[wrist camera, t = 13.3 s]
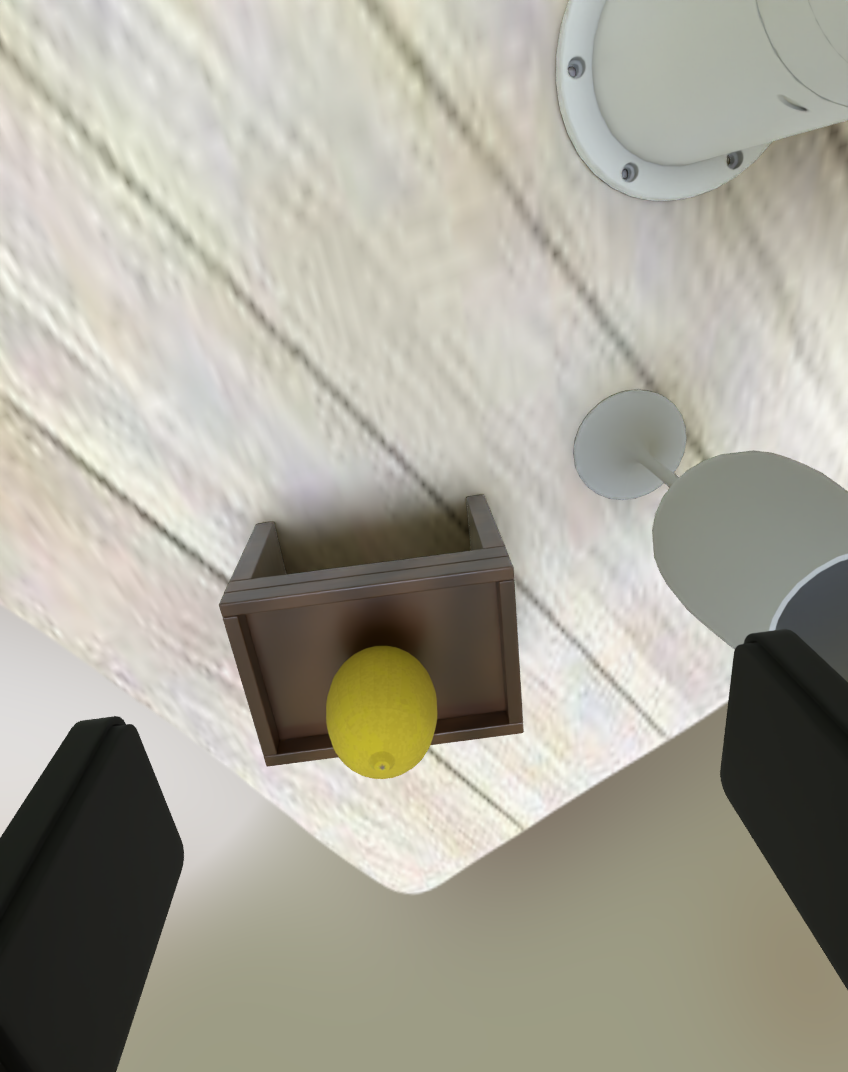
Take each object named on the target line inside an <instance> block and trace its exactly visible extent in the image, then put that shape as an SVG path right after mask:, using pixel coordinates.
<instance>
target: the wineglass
mask: <svg viewBox="0 0 848 1072" xmlns="http://www.w3.org/2000/svg"><path fill="white" fill-rule="evenodd" d="M685 445H686V427H685V424H684V421H683V418H682V415H681V413H680V412H679V410H678V409H677V408H676V406H675V405H674V404H673V403H672V402H670V401H669V400H668V399H667V398H665V397H664V396H662V395H659V394H657V393H655V392H652V391H646V390H638V389H637V390H629V391H623V392H620V393H617V394H615V395H612V396H610V397H608V398H607V399H605V400H603V401H602V402H600V403H599V404H597V405H596V406H595V407H594V408H593V409H592V410H591V411H590V412H589V413H588V415H587V416H586V418H585V419H584V421H583V422H582V424H581V425H580V427H579V430H578V433H577V435H576V438H575V443H574V452H573V454H574V461H575V467H576V469H577V471H578V474H579V476H580V478H581V479H582V480H583V481H584V483H585V484H586V485H587V486H588V487H589V488H590V489H591V490H593V491H594V492H596V493H597V494H599V495H601V496H604V497H607V498H609V499H618V500H626V499H634V498H638V497H641V496H643V495H646V494H649V493H650V492H652V491H654V490H655V489H657V488H659V487H660V486H661V485H662V484H663V483H665V484H666V485H667V486H669V487H670V488H669V490H668V491H667V492H666V494H665V495H664V497H663V498H662V500H661V502H660V504H659V507H658V509H657V511H656V514H655V519H654V524H653V530H652V531H653V549H654V558H655V561H656V563H657V566H658V568H659V571H660V573H661V575H662V577H663V578H664V580H665V582H666V584H667V585H668V587H669V588H670V589H671V590H672V591H673V593H674V594H675V595H676V596H677V598H678V599H679V600H680V601H681V603H682V604H683V605H684V606H685V607H686V609H687V610H688V611H689V612H690V613H691V614H693V615H694V616H695V617H696V618H697V619H698V620H699V621H700V622H702V623H703V624H704V625H705V626H706V627H707V628H709V629H710V630H711V631H712V632H713V633H715V634H716V635H717V636H718V637H720V638H721V639H722V640H723V641H724V642H726V643H727V644H728V645H729V646H731V647H732V648H733V649H735V648H736V647H737V645H740V644H744V640H745V638H746V636H747V635H749V634H751V633H758V632H766V631H773V630H781V629H788V630H791V631H793V632H794V633H796V634H797V635H798V636H799V637H800V638H801V639H802V640H803V641H804V642H805V643H806V644H808V645H809V646H810V647H811V648H812V649H813V650H814V651H815V652H816V653H817V654H818V655H819V656H820V657H821V658H823V659H824V660H825V661H826V662H827V663H828V664H829V665H830V666H831V667H832V668H833V669H834V670H835V671H836V672H837V673H839V674H840V675H841V676H842V677H843V678H844V679H845V680H846V681H847V682H848V491H846V490H845V489H844V488H842V487H841V486H840V485H838V484H837V483H836V482H834V481H833V480H831V479H830V478H829V477H827V476H826V475H824V474H823V473H821V472H819V471H817V470H815V469H813V468H811V467H809V466H807V465H805V464H802V463H800V462H797V461H795V460H792V459H790V458H787V457H784V456H781V455H778V454H774V453H769V452H760V451H746V452H738V453H730V454H722V455H718V456H716V457H713V458H710V459H707V460H704V461H702V462H701V463H699V464H697V465H696V466H694V467H692V468H691V469H689V470H687V471H686V472H685V473H684V474H683V475H682V476H681V477H678V476H677V475H676V474H674V471H675V470H676V469H677V467H678V466H679V463H680V461H681V459H682V457H683V454H684V450H685Z"/></svg>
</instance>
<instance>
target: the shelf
mask: <svg viewBox="0 0 848 1072" xmlns="http://www.w3.org/2000/svg"><path fill="white" fill-rule="evenodd" d="M466 502H467V513H468V524H469V535H470V546H471V551H464V552H457V553H449V554H441V555H434V556H426V557H418V558H410V559H403V560H395V561H387V562H379V563H372V564H364V565H356V566H349V567H341V568H333V569H325V570H318V571H310V572H302V573H295V574H287V575H286V571H285V566H284V562H283V558H282V554H281V550H280V545H279V541H278V537H277V533H276V528H275V524H274V522H268V523H260V524H256V525H255V528H254V530H253V532H252V534H251V536H250V538H249V541H248V543H247V545H246V547H245V549H244V551H243V553H242V556H241V558H240V560H239V562H238V564H237V566H236V569H235V571H234V573H233V575H232V577H231V579H230V582H229V583H228V586H227V588H226V590H225V592H224V595H223V597H222V599H221V601H220V603H219V607H220V610H221V614H222V616H223V621H224V624H225V627H226V631H227V634H228V638H229V641H230V644H231V648H232V651H233V654H234V658H235V661H236V664H237V668H238V671H239V675H240V678H241V681H242V685H243V688H244V691H245V695H246V698H247V701H248V705H249V708H250V712H251V715H252V718H253V722H254V725H255V728H256V732H257V735H258V739H259V742H260V745H261V749H262V752H263V755H264V759H265V763H266V766H275V765H282V764H290V763H298V762H305V761H313V760H321V759H328V758H336V757H339V756H338V755H337V754H336V752H335V750H334V748H333V745H332V742H331V739H330V736H329V733H328V729H327V723H326V703H327V696H328V693H329V690H330V687H331V684H332V681H333V678H334V676H335V675H336V673H337V672H338V670H339V669H340V667H341V666H342V664H343V663H344V662H345V661H347V660H348V659H349V658H350V657H351V656H353V655H354V654H355V653H357V652H359V651H361V650H363V649H366V648H370V647H374V646H391V647H396V648H399V649H401V650H404V651H406V652H408V653H410V654H411V655H412V656H414V657H415V658H416V659H418V661H419V662H420V663H421V664H422V665H423V667H424V668H425V669H426V670H427V672H428V674H429V676H430V678H431V681H432V683H433V686H434V688H435V692H436V698H437V723H436V728H435V732H434V735H433V739H432V742H431V745H435V744H443V743H450V742H458V741H466V740H473V739H481V738H488V737H496V736H504V735H511V734H519V733H523V732H524V731H523V714H522V698H521V682H520V665H519V649H518V633H517V616H516V600H515V584H514V570H513V565H512V563H511V560H510V558H509V555H508V552H507V550H506V547H505V545H504V542H503V540H502V537H501V535H500V533H499V530H498V528H497V525H496V523H495V520H494V518H493V515H492V513H491V510H490V508H489V506H488V503H487V501H486V498H485V496H484V495H476V496H468V497H466Z"/></svg>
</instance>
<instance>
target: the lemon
mask: <svg viewBox="0 0 848 1072" xmlns="http://www.w3.org/2000/svg"><path fill="white" fill-rule="evenodd" d="M326 723H327V729H328V733H329V736H330V739H331V742H332V745H333V748H334V750H335V752H336V754H337V755H338V756H339V758H340V759H341V761H342V762H343V763H344V764H345V765H346V766H348V767H349V768H350V769H351V770H352V771H354V772H356V773H358V774H360V775H362V776H365V777H369V778H374V779H386V778H393V777H396V776H399V775H402V774H403V773H405V772H407V771H409V770H410V769H412V768H413V767H414V766H416V765H417V764H418V763H419V762H420V761H421V760H422V758H423V757H424V755H425V754H426V752H427V750H428V749H429V747H430V745H431V742H432V739H433V735H434V732H435V728H436V723H437V698H436V692H435V688H434V686H433V683H432V681H431V678H430V676H429V674H428V672H427V670H426V669H425V668H424V667H423V665H422V664H421V663H420V662H419V661H418V659H416V658H415V657H414V656H412V655H411V654H410V653H408V652H406V651H404V650H401V649H399V648H396V647H391V646H374V647H370V648H366V649H363V650H361V651H359V652H357V653H355V654H354V655H353V656H351V657H350V658H349V659H348V660H347V661H345V662H344V663H343V664H342V666H341V667H340V669H339V670H338V672H337V673H336V675H335V676H334V678H333V681H332V684H331V687H330V690H329V693H328V696H327V703H326Z"/></svg>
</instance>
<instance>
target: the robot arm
mask: <svg viewBox="0 0 848 1072" xmlns="http://www.w3.org/2000/svg"><path fill="white" fill-rule="evenodd" d="M570 66H573V67H574V68H575V69H576V76H575V77H571V76H570V75H569V73H568V69H569V67H570ZM556 85H557V92H558V99H559V106H560V111H561V114H562V117H563V121H564V124H565V127H566V130H567V133H568V135H569V137H570V139H571V141H572V143H573V145H574V147H575V148H576V150H577V152H578V154H579V156H580V157H581V158H582V160H583V161H584V162H585V163H586V164H587V166H588V167H589V168H590V169H591V170H592V172H593V173H594V174H595V175H596V176H598V177H599V178H600V179H602V180H603V181H604V182H605V183H607V184H608V185H609V186H611V187H612V188H614V189H616V190H618V191H620V192H623V193H625V194H627V195H629V196H631V197H636V198H641V199H645V200H650V201H672V200H679V199H684V198H690V197H694V196H697V195H700V194H703V193H705V192H708V191H711V190H714V189H716V188H717V187H719V186H721V185H723V184H725V183H726V182H728V181H730V180H732V179H733V178H735V177H736V176H738V175H739V174H740V173H741V172H742V171H744V170H745V169H746V168H747V167H749V166H750V165H751V164H752V163H753V162H755V161H756V160H757V159H758V157H759V156H760V155H761V154H762V153H763V152H764V151H765V150H766V148H767V147H768V146H769V145H770V144H771V143H772V142H773V141H775V140H779V139H782V138H786V137H789V136H793V135H797V134H800V133H804V132H808V131H811V130H815V129H818V128H822V127H826V126H829V125H833V124H836V123H840V122H844V121H847V120H848V0H569V1H568V4H567V7H566V10H565V13H564V16H563V19H562V23H561V29H560V35H559V41H558V46H557V53H556ZM728 156H729V158H730V164H729V165H728V166H727V161H726V160H727V157H728ZM623 169H626V170H627V171H628V177H627V179H626V180H625V179H623V178H622V171H623ZM720 777H721V782H722V786H723V789H724V792H725V794H726V796H727V798H728V799H729V801H730V803H731V804H732V806H733V807H734V809H735V811H736V812H737V814H738V815H739V817H740V818H741V820H742V822H743V823H744V825H745V827H746V828H747V829H748V831H749V833H750V835H751V836H752V838H753V839H754V841H755V843H756V844H757V846H758V847H759V849H760V850H761V852H762V854H763V855H764V857H765V858H766V860H767V862H768V863H769V865H770V866H771V868H772V870H773V871H774V873H775V875H776V876H777V878H778V879H779V881H780V883H781V884H782V886H783V887H784V889H785V891H786V892H787V894H788V895H789V897H790V899H791V900H792V902H793V903H794V905H795V906H796V908H797V910H798V911H799V913H800V914H801V916H802V918H803V919H804V921H805V923H806V924H807V926H808V927H809V929H810V930H811V932H812V933H813V935H814V937H815V939H816V940H817V942H818V943H819V945H820V947H821V948H822V950H823V951H824V953H825V954H826V956H827V958H828V959H829V961H830V962H831V964H832V966H833V967H834V969H835V970H836V972H837V974H838V975H839V977H840V979H841V980H842V982H843V983H844V985H845V987H846V988H847V989H848V682H847V681H846V680H845V679H844V678H843V677H842V676H841V675H840V674H839V673H837V672H836V671H835V670H834V669H833V668H832V667H831V666H830V665H829V664H828V663H827V662H826V661H825V660H824V659H823V658H821V657H820V656H819V655H818V654H817V653H816V652H815V651H814V650H813V649H812V648H811V647H810V646H809V645H808V644H806V643H805V642H804V641H803V640H802V639H801V638H800V637H799V636H798V635H797V634H796V633H794V632H793V631H791V630H788V629H781V630H773V631H766V632H758V633H751V634H749V635H747V636H746V638H745V640H744V644H740V645H737V647H736V648H735V651H734V658H733V667H732V675H731V684H730V692H729V701H728V710H727V718H726V727H725V735H724V745H723V753H722V761H721V770H720ZM183 861H184V850H183V844H182V841H181V838H180V836H179V833H178V831H177V828H176V826H175V823H174V821H173V818H172V816H171V813H170V811H169V808H168V806H167V803H166V801H165V798H164V796H163V793H162V791H161V788H160V786H159V783H158V781H157V778H156V776H155V773H154V771H153V769H152V766H151V763H150V761H149V758H148V756H147V754H146V751H145V749H144V746H143V744H142V741H141V739H140V736H139V734H138V731H137V729H136V728H135V727H134V726H133V725H132V724H127V725H126V724H125V722H124V720H123V719H122V718H120V717H116V716H114V717H107V718H99V719H92V720H84V721H80V722H78V723H76V724H75V725H74V726H73V727H72V728H71V730H70V731H69V733H68V735H67V736H66V738H65V739H64V741H63V742H62V744H61V745H60V747H59V748H58V750H57V751H56V753H55V755H54V756H53V758H52V759H51V761H50V762H49V764H48V765H47V767H46V768H45V770H44V771H43V773H42V775H41V776H40V778H39V779H38V781H37V782H36V784H35V785H34V787H33V788H32V790H31V791H30V793H29V794H28V796H27V798H26V799H25V801H24V802H23V804H22V805H21V807H20V808H19V810H18V811H17V813H16V814H15V816H14V818H13V819H12V821H11V822H10V824H9V825H8V827H7V829H6V830H5V832H4V833H3V834H2V836H1V838H0V1072H116V1070H117V1067H118V1064H119V1061H120V1058H121V1055H122V1052H123V1049H124V1046H125V1043H126V1040H127V1037H128V1034H129V1030H130V1027H131V1024H132V1021H133V1018H134V1015H135V1012H136V1009H137V1006H138V1003H139V1000H140V997H141V994H142V991H143V987H144V984H145V981H146V978H147V975H148V972H149V969H150V966H151V963H152V960H153V957H154V954H155V951H156V948H157V944H158V941H159V938H160V935H161V932H162V929H163V926H164V923H165V920H166V917H167V914H168V911H169V908H170V904H171V901H172V898H173V895H174V892H175V889H176V886H177V883H178V880H179V877H180V874H181V870H182V867H183Z"/></svg>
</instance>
